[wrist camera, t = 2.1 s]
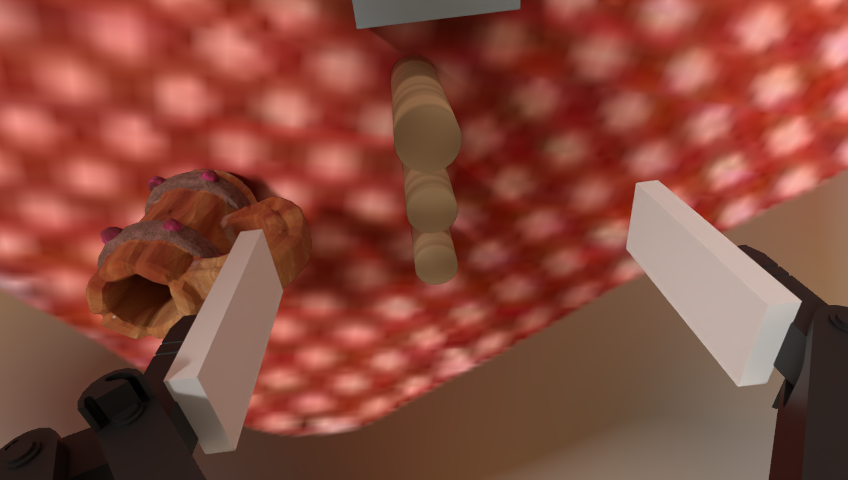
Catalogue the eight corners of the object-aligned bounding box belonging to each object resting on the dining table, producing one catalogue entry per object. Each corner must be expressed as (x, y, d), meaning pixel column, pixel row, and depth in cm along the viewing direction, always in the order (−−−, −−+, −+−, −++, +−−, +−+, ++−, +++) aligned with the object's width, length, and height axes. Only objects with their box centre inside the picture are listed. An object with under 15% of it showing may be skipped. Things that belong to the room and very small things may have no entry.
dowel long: (387, 57, 36) (389, 111, 24) (434, 52, 36) (459, 103, 24) (394, 104, 37) (398, 176, 26) (438, 99, 38) (463, 168, 26)
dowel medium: (399, 144, 39) (403, 191, 32) (441, 139, 39) (456, 185, 32) (404, 183, 41) (409, 236, 34) (445, 178, 41) (459, 230, 34)
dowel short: (409, 216, 43) (412, 252, 38) (447, 211, 43) (456, 246, 38) (413, 248, 45) (417, 286, 40) (450, 244, 45) (459, 281, 40)
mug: (180, 247, 43) (95, 373, 30) (138, 166, 39) (18, 273, 26) (336, 220, 43) (316, 336, 30) (311, 136, 38) (275, 229, 26)
